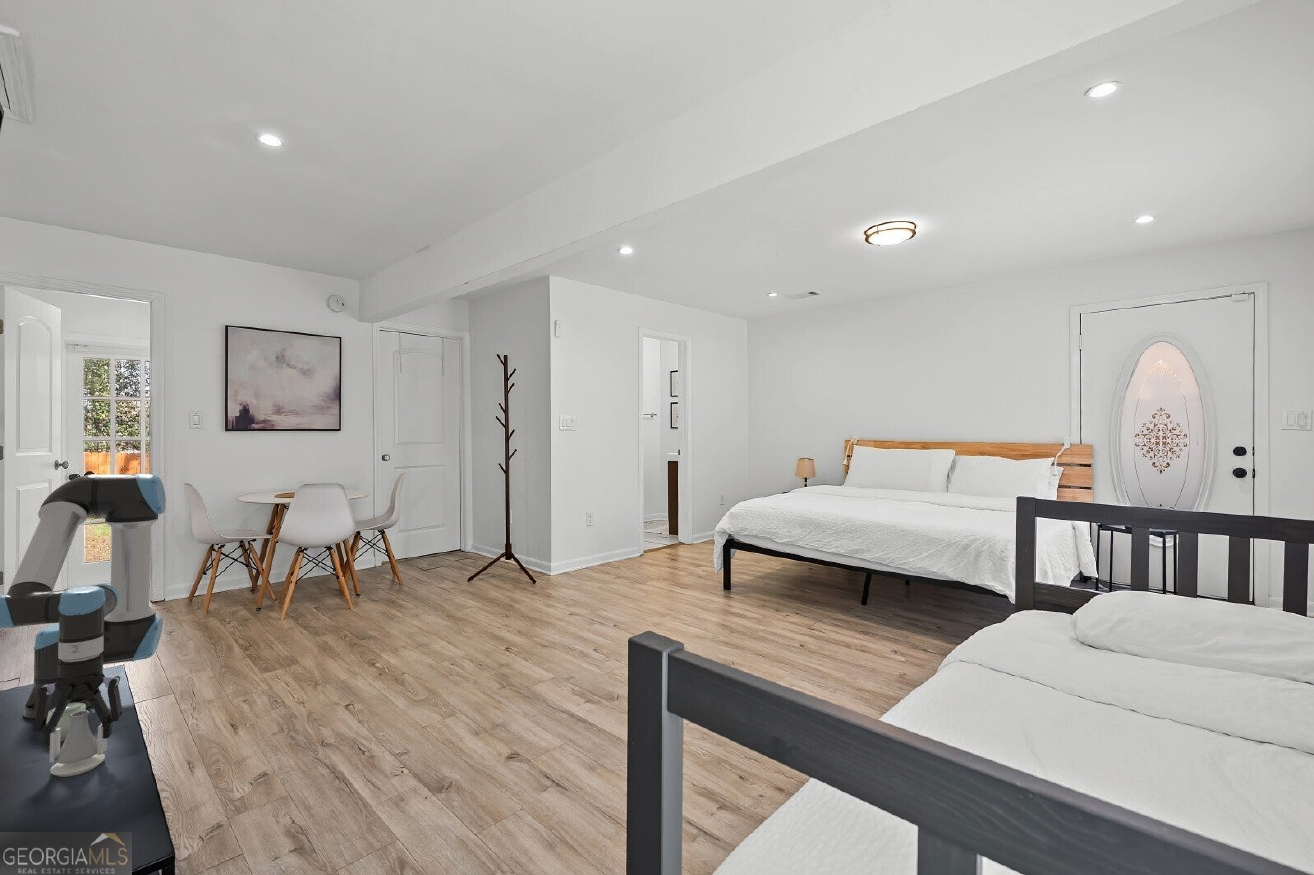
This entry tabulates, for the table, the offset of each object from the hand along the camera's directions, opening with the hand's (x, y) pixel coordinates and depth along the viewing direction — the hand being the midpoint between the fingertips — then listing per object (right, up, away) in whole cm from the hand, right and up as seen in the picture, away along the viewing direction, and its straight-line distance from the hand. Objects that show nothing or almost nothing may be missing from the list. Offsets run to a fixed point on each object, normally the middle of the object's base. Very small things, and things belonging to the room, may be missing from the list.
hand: (78, 755), depth 137 cm
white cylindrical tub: (-17, -2, +14) cm, 22 cm away
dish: (0, -3, 0) cm, 3 cm away
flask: (0, 0, 0) cm, 0 cm away
